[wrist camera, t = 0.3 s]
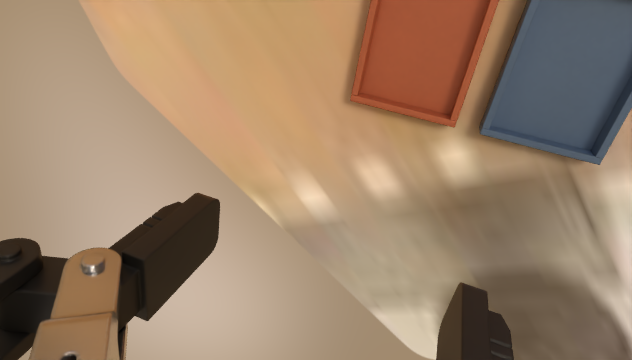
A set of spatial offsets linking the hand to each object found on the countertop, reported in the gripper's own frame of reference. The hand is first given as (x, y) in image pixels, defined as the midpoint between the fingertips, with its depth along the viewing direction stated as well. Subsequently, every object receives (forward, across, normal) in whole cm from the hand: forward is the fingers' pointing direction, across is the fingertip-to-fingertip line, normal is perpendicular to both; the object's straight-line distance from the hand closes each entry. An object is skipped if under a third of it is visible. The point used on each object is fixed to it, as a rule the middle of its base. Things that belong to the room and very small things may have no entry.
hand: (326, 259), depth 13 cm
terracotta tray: (+28, 0, -4) cm, 29 cm away
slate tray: (+28, -12, -4) cm, 31 cm away
